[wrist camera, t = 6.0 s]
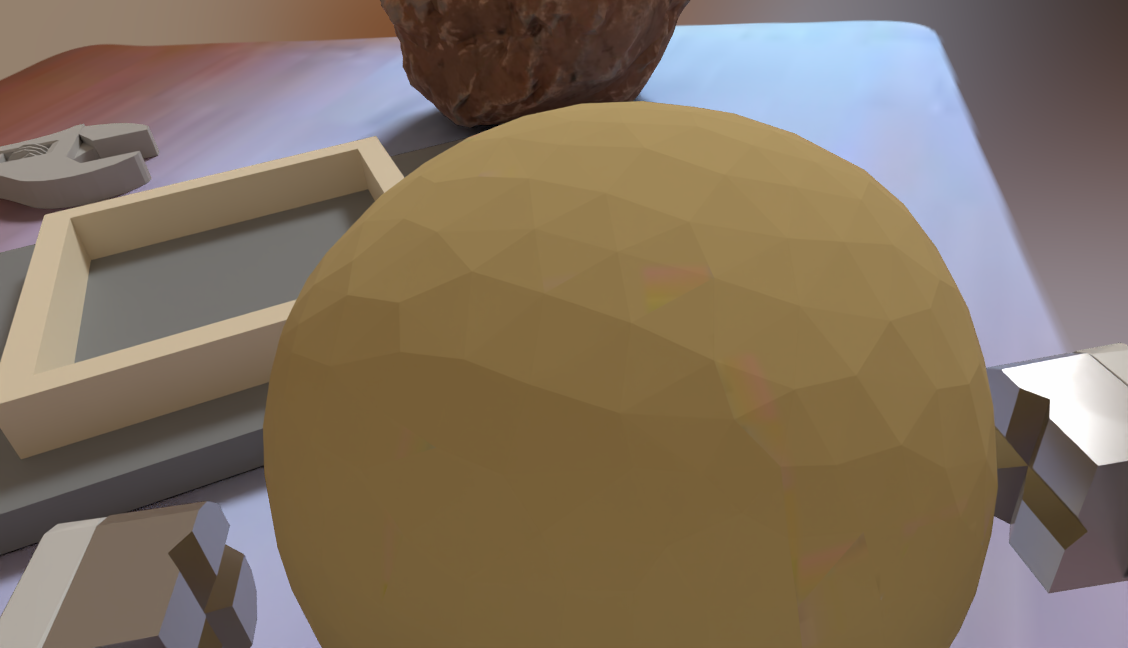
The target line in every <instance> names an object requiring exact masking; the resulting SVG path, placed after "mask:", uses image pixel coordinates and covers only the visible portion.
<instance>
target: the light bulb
mask: <svg viewBox="0 0 1128 648" xmlns="http://www.w3.org/2000/svg"><path fill="white" fill-rule="evenodd" d="M263 445H264V475H265V481H266V486H267V492H268V497H269V503H270V508H271V514H272V519H273V525H274V530H275V536H276V541H277V547H278V550H279V553H280V556H281V559H282V562H283V565H284V568H285V571H286V574H287V577H288V580H289V583H290V586H291V589H292V591H293V593H294V595H295V597H296V599H297V601H298V603H299V605H300V607H301V609H302V611H303V613H304V614H305V616H306V618H307V620H308V622H309V624H310V626H311V628H312V630H313V632H314V634H315V636H316V638H317V640H318V642H319V643H320V645H321V647H322V648H949V647H950V645H951V644H952V642H953V640H954V639H955V637H956V635H957V634H958V632H959V630H960V628H961V626H962V624H963V621H964V619H965V617H966V614H967V612H968V610H969V608H970V605H971V603H972V601H973V599H974V596H975V594H976V591H977V587H978V583H979V579H980V575H981V571H982V568H983V564H984V560H985V556H986V552H987V549H988V545H989V541H990V537H991V533H992V526H993V518H994V511H995V504H996V497H997V490H998V479H997V458H996V437H995V422H994V409H993V402H992V397H991V392H990V387H989V382H988V376H987V371H986V366H985V361H984V357H983V354H982V351H981V348H980V344H979V341H978V338H977V335H976V332H975V328H974V325H973V322H972V319H971V316H970V312H969V309H968V307H967V305H966V303H965V301H964V299H963V297H962V295H961V293H960V291H959V289H958V287H957V285H956V283H955V281H954V279H953V278H952V276H951V274H950V272H949V270H948V268H947V266H946V264H945V263H944V261H943V259H942V257H941V255H940V253H939V251H938V250H937V248H936V246H935V245H934V244H933V242H932V241H931V240H930V238H929V237H928V236H927V234H926V233H925V232H924V230H923V229H922V228H921V226H920V225H919V224H918V222H917V221H916V220H915V218H914V217H913V216H912V214H911V213H910V212H909V210H908V209H907V208H906V206H905V205H904V204H903V203H902V202H901V201H899V200H898V199H897V198H896V197H895V196H894V195H893V194H891V193H890V192H889V191H888V190H887V189H886V188H885V187H883V186H882V185H881V184H880V183H879V182H878V181H876V180H875V179H874V178H873V177H872V176H871V175H870V174H868V173H867V172H866V171H865V170H864V169H862V168H860V167H858V166H856V165H854V164H852V163H850V162H848V161H846V160H844V159H843V158H841V157H839V156H837V155H835V154H833V153H831V152H829V151H827V150H825V149H823V148H821V147H820V146H818V145H816V144H814V143H812V142H810V141H808V140H806V139H804V138H802V137H800V136H798V135H797V134H795V133H792V132H788V131H785V130H782V129H779V128H776V127H773V126H770V125H767V124H764V123H761V122H758V121H755V120H752V119H749V118H746V117H743V116H740V115H737V114H734V113H728V112H722V111H716V110H710V109H704V108H698V107H690V106H681V105H672V104H663V103H654V102H645V101H633V102H609V103H586V104H577V105H573V106H568V107H564V108H559V109H554V110H550V111H545V112H540V113H536V114H531V115H526V116H523V117H520V118H517V119H515V120H512V121H510V122H507V123H504V124H502V125H499V126H497V127H494V128H492V129H489V130H486V131H484V132H481V133H479V134H476V135H473V136H471V137H468V138H467V139H465V140H463V141H462V142H460V143H458V144H456V145H455V146H453V147H451V148H449V149H448V150H446V151H444V152H443V153H441V154H439V155H437V156H436V157H434V158H432V159H430V160H429V161H427V162H425V163H424V164H422V165H421V166H420V167H418V168H417V169H416V170H414V171H413V172H412V173H410V174H409V175H408V176H406V177H405V178H404V179H402V180H401V181H400V182H398V183H397V184H396V185H394V186H393V187H392V188H390V189H389V190H388V191H386V192H385V193H384V194H382V195H381V196H380V197H379V198H378V199H377V200H376V201H375V202H374V203H373V204H372V205H371V206H370V207H369V208H368V209H367V210H366V211H365V213H364V214H363V215H362V216H361V217H360V218H359V219H358V220H357V221H356V222H355V223H354V224H353V225H352V226H351V227H350V228H349V229H348V231H347V232H346V233H345V234H344V235H343V236H342V237H341V238H340V239H339V240H338V241H337V242H336V243H335V244H334V245H333V246H332V247H331V249H330V250H329V251H328V252H327V253H326V254H325V255H324V257H323V258H322V260H321V261H320V262H319V264H318V265H317V266H316V268H315V269H314V270H313V272H312V273H311V274H310V276H309V277H308V278H307V280H306V282H305V284H304V286H303V288H302V290H301V292H300V294H299V296H298V298H297V300H296V302H295V304H294V306H293V307H292V309H291V312H290V314H289V316H288V318H287V320H286V322H285V325H284V327H283V330H282V333H281V336H280V339H279V343H278V347H277V351H276V355H275V359H274V362H273V366H272V370H271V374H270V381H269V388H268V395H267V402H266V409H265V416H264V423H263Z"/></svg>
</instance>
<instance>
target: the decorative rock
mask: <svg viewBox="0 0 1128 648" xmlns="http://www.w3.org/2000/svg"><path fill="white" fill-rule="evenodd" d="M380 1H381V6H382V7H383V9H384V10H385V12H386V13H387V15H388V16H389V18H390V20H391V22H392V23H393V24H394V28H395V33H396V35H397V37H398V39H399V41H400V44H401V51H402V55H403V68H404V70H405V72H406V74H407V77H408V80H409V82H410V85H411V86H413V87H414V88H415V89H416V90H418V91H419V92H420V93H421V94H422V95H423V96H424V97H425V98H426V99H427V100H429V101H430V102H432V103H433V104H434V105H435V106H436V108H437V109H438V110H439V111H440V112H442V113H443V114H444V115H445V116H446V117H448V118H449V119H450V120H451V121H453V122H454V123H455V124H456V125H460V126H465V127H470V128H471V127H473V126H475V125H494V124H502V123H507V122H510V121H512V120H515V119H517V118H520V117H523V116H526V115H531V114H536V113H540V112H545V111H550V110H554V109H559V108H564V107H568V106H573V105H577V104H586V103H609V102H633V101H634V100H635V98H636V97H637V96H638V95H639V93H640V92H641V90H642V89H643V88H644V86H645V85H646V83H647V82H648V80H649V78H650V77H651V75H652V73H653V72H654V70H655V68H656V67H657V65H658V63H659V62H660V60H661V58H662V56H663V54H664V52H665V50H666V47H667V45H668V43H669V41H670V39H671V37H672V35H673V33H674V30H675V26H676V23H677V20H678V17H679V16H680V14H681V12H682V11H683V9H684V8H685V6H686V5H687V4H688V3H689V2H690V0H380Z"/></svg>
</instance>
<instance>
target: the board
mask: <svg viewBox="0 0 1128 648" xmlns="http://www.w3.org/2000/svg"><path fill="white" fill-rule="evenodd" d="M465 139H467V138H464V139H460V140H456V141H452V142H448V143H444V144H440V145H435V146H431V147H427V148H423V149H419V150H415V151H411V152H407V153H403V154H399V155H395V156H391V157H390V156H389V154H388V153H387V152H386V150H385V149H384V147H383V146H382V144H381V143H380V141H379V140H378V138H377V137H376V136H374V137H370V138H366V139H361V140H357V141H353V142H349V143H345V144H340V145H336V146H332V147H328V148H324V149H319V150H315V151H311V152H307V153H302V154H298V155H294V156H290V157H286V158H281V159H277V160H273V161H269V162H265V163H260V164H256V165H252V166H248V167H244V168H239V169H235V170H231V171H227V172H223V173H218V174H214V175H210V176H206V177H202V178H197V179H193V180H189V181H185V182H181V183H176V184H172V185H168V186H164V187H160V188H155V189H151V190H147V191H143V192H139V193H134V194H130V195H126V196H122V197H118V198H113V199H109V200H105V201H101V202H97V203H92V204H88V205H84V206H80V207H76V208H71V209H67V210H63V211H59V212H55V213H50V214H46V215H44V218H43V222H42V225H41V228H40V232H39V235H38V238H37V242H36V244H34V245H30V246H26V247H22V248H18V249H13V250H9V251H5V252H1V253H0V555H2V554H5V553H8V552H10V551H13V550H16V549H19V548H22V547H25V546H28V545H31V544H34V543H37V542H40V540H41V538H42V537H43V535H44V534H45V533H47V532H48V531H49V530H50V529H52V528H53V527H54V526H56V525H57V524H61V523H68V522H75V521H82V520H89V519H97V518H104V517H108V516H109V515H115V514H122V513H125V512H128V511H131V510H134V509H137V508H140V507H143V506H146V505H149V504H152V503H155V502H157V501H160V500H163V499H166V498H169V497H172V496H175V495H178V494H181V493H184V492H187V491H190V490H193V489H196V488H199V487H202V486H205V485H207V484H210V483H213V482H216V481H219V480H222V479H225V478H228V477H231V476H234V475H237V474H240V473H243V472H246V471H249V470H252V469H255V468H257V467H260V466H263V465H264V445H263V423H264V416H265V409H266V402H267V395H268V388H269V381H270V374H271V370H272V366H273V362H274V359H275V355H276V351H277V347H278V343H279V339H280V336H281V333H282V330H283V327H284V325H285V322H286V320H287V318H288V316H289V314H290V312H291V309H292V307H293V306H294V304H295V302H296V300H297V298H298V296H299V294H300V292H301V290H302V288H303V286H304V284H305V282H306V280H307V278H308V277H309V276H310V274H311V273H312V272H313V270H314V269H315V268H316V266H317V265H318V264H319V262H320V261H321V260H322V258H323V257H324V255H325V254H326V253H327V252H328V251H329V250H330V249H331V247H332V246H333V245H334V244H335V243H336V242H337V241H338V240H339V239H340V238H341V237H342V236H343V235H344V234H345V233H346V232H347V231H348V229H349V228H350V227H351V226H352V225H353V224H354V223H355V222H356V221H357V220H358V219H359V218H360V217H361V216H362V215H363V214H364V213H365V211H366V210H367V209H368V208H369V207H370V206H371V205H372V204H373V203H374V202H375V201H376V200H377V199H378V198H379V197H380V196H381V195H382V194H384V193H385V192H386V191H388V190H389V189H390V188H392V187H393V186H394V185H396V184H397V183H398V182H400V181H401V180H402V179H404V178H405V177H406V176H408V175H409V174H410V173H412V172H413V171H414V170H416V169H417V168H418V167H420V166H421V165H422V164H424V163H425V162H427V161H429V160H430V159H432V158H434V157H436V156H437V155H439V154H441V153H443V152H444V151H446V150H448V149H449V148H451V147H453V146H455V145H456V144H458V143H460V142H462V141H463V140H465Z"/></svg>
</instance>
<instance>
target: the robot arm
mask: <svg viewBox="0 0 1128 648" xmlns="http://www.w3.org/2000/svg"><path fill="white" fill-rule="evenodd" d="M986 371H987V376H988V382H989V387H990V392H991V397H992V402H993V409H994V422H995V437H996V458H997V479H998V490H997V497H996V504H995V511H994V516H995V517H997V518H999V519H1001V520H1003V521H1005V522H1007V523H1009V524H1010V532H1009V544H1010V545H1011V546H1012V548H1013V549H1014V550H1015V551H1016V553H1017V554H1018V555H1019V556H1020V558H1021V559H1022V560H1023V562H1024V563H1025V564H1026V565H1027V567H1028V568H1029V569H1030V570H1031V572H1032V573H1033V574H1034V576H1035V577H1036V578H1037V579H1038V581H1039V582H1040V583H1041V584H1042V586H1043V587H1044V588H1045V590H1046V591H1047V592H1048V593H1054V592H1060V591H1066V590H1072V589H1078V588H1085V587H1091V586H1097V585H1103V584H1109V583H1115V582H1122V581H1128V345H1126V344H1122V343H1117V344H1111V345H1106V346H1101V347H1096V348H1090V349H1085V350H1080V351H1075V352H1073V353H1065V354H1060V355H1054V356H1049V357H1043V358H1038V359H1032V360H1026V361H1021V362H1015V363H1010V364H1004V365H999V366H993V367H987V368H986ZM229 527H230V525H229V523H228V521H227V519H226V517H225V516H224V514H223V512H222V510H221V508H220V506H219V505H218V503H214V502H209V501H204V502H197V503H190V504H183V505H177V506H170V507H163V508H156V509H149V510H143V511H136V512H129V513H122V514H115V515H109V516H108V517H104V518H97V519H89V520H82V521H75V522H68V523H61V524H57V525H56V526H54V527H53V528H52V529H50V530H49V531H48V532H47V533H45V534H44V535H43V537H42V538H41V540H40V542H39V544H38V546H37V548H36V550H35V552H34V554H33V556H32V558H31V560H30V561H29V563H28V565H27V567H26V569H25V571H24V573H23V575H22V577H21V579H20V581H19V583H18V584H17V586H16V588H15V590H14V592H13V594H12V596H11V598H10V600H9V602H8V604H7V606H6V607H5V609H4V611H3V613H2V615H1V617H0V648H250V647H251V646H252V644H253V639H254V633H255V628H256V622H257V591H256V587H255V582H254V578H253V574H252V570H251V568H250V566H249V564H248V562H247V560H246V557H245V555H244V554H242V553H240V552H239V551H237V550H235V549H233V548H231V547H229V546H227V545H226V544H225V543H226V539H227V535H228V531H229Z"/></svg>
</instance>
